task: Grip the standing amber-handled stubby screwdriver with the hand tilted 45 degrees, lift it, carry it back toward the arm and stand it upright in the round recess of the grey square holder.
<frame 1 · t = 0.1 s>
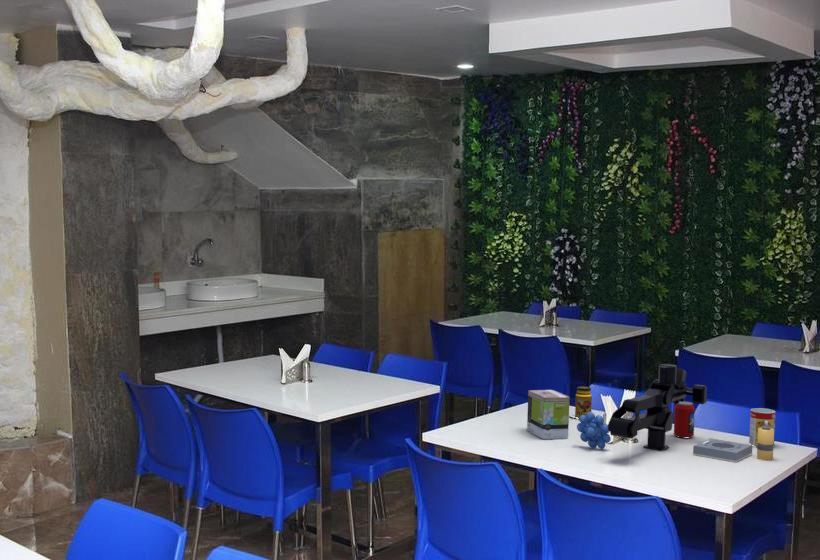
hand: (689, 388, 332), 17 cm above the table, tool horizontal, fingers open, 9 cm apart
grey square holder: (722, 454, 306), on the table
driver: (764, 458, 302), on the table
grapes: (592, 449, 311), on the table
canned food: (761, 446, 320), on the table
beverage can: (683, 437, 331), on the table
tea box: (547, 435, 331), on the table
condiment: (581, 418, 360), on the table
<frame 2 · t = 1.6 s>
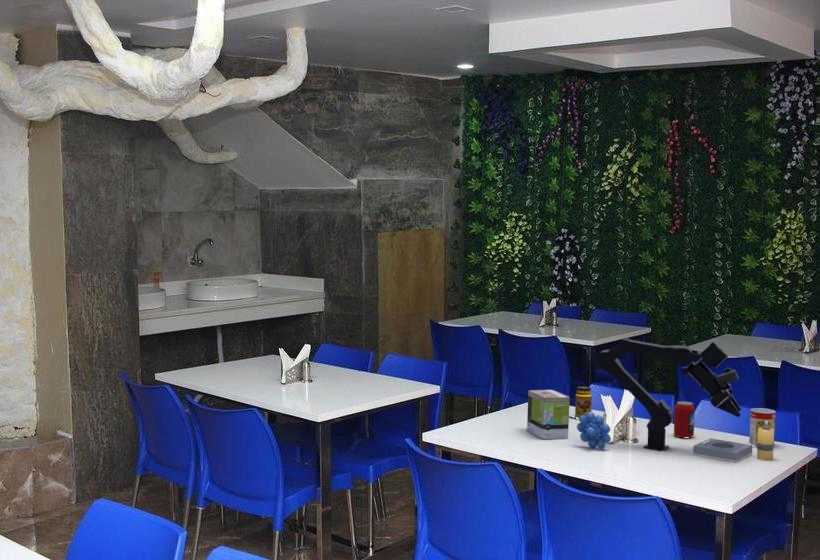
hand: (739, 413, 304), 14 cm above the table, tool tilted 45°, fingers open, 9 cm apart
nothing on the table moved.
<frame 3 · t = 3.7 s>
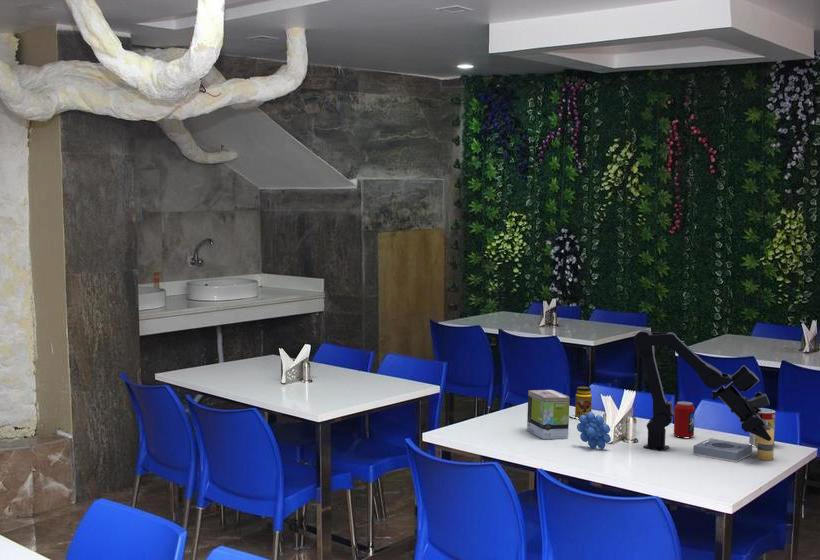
hand: (770, 438, 301), 7 cm above the table, tool tilted 45°, fingers closed on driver, 5 cm apart
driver: (764, 458, 302), on the table, touching gripper
everything else where it was.
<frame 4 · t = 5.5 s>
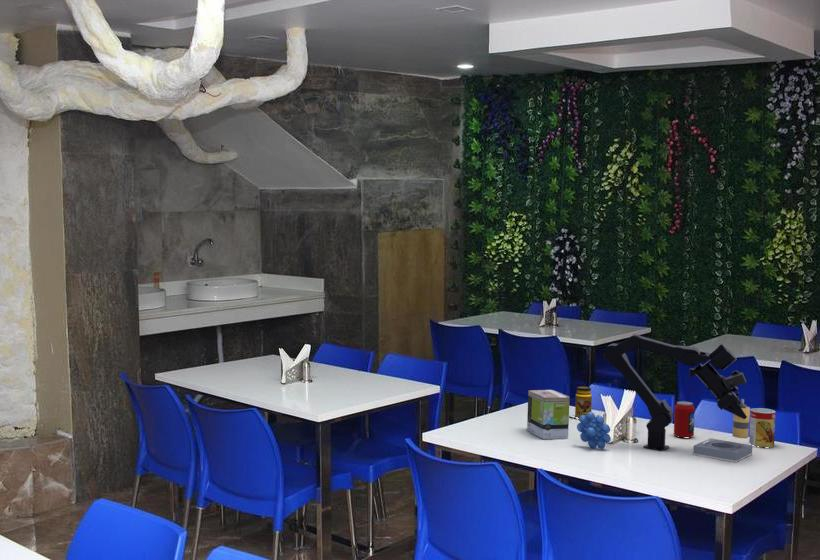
hand: (746, 416, 303), 13 cm above the table, tool tilted 45°, fingers closed on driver, 5 cm apart
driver: (740, 436, 304), point 6 cm above the table, touching gripper
everything else where it was.
when the fingers open (8 cm above the table, at t = 7.4 s): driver stays where it is, resting on grey square holder.
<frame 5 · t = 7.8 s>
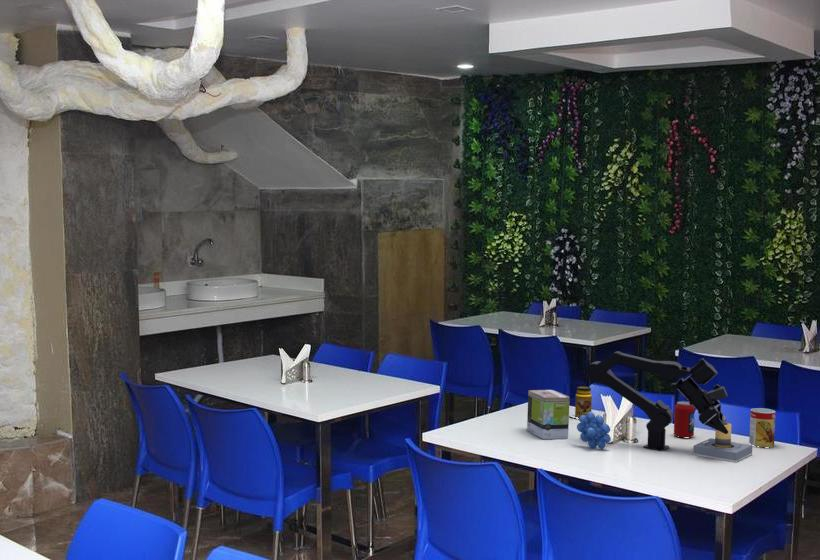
hand: (728, 430, 305), 8 cm above the table, tool tilted 45°, fingers open, 9 cm apart
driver: (722, 452, 306), resting on grey square holder
everything else where it was.
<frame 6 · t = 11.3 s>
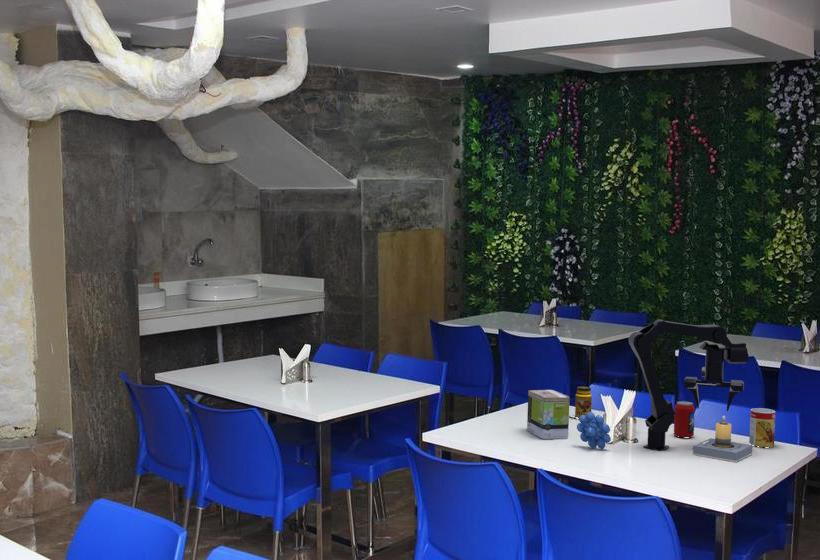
hand: (712, 409, 313), 13 cm above the table, tool pointing down, fingers open, 9 cm apart
nothing on the table moved.
at the end: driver 0.1 cm off-centre on the grey square holder, point 0.5 cm above the grey square holder's base; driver tilted 0°; the gripper is holding nothing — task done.
